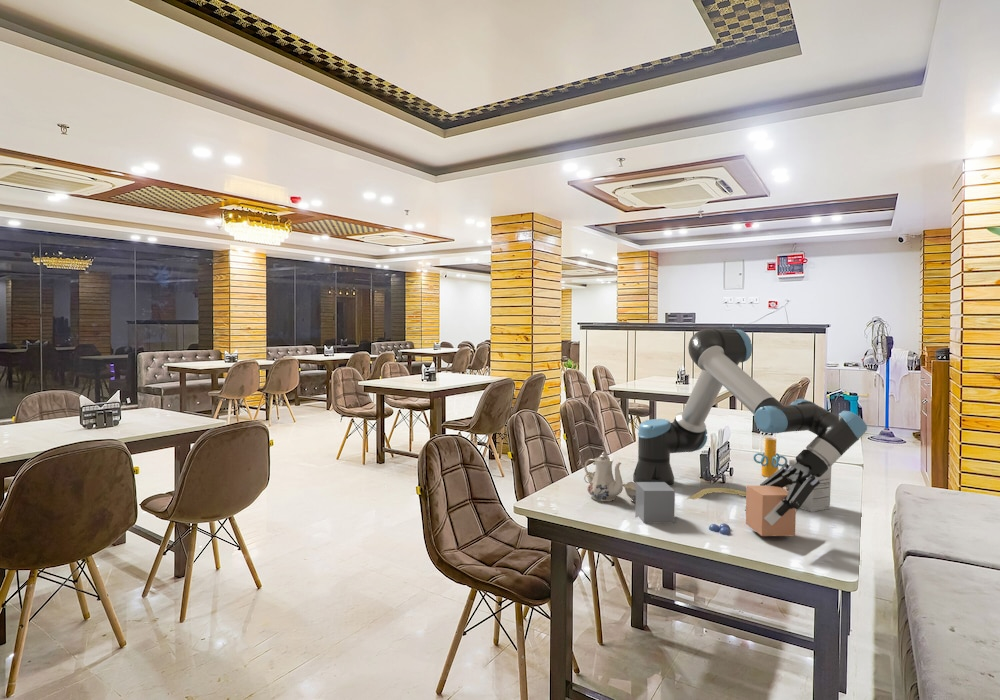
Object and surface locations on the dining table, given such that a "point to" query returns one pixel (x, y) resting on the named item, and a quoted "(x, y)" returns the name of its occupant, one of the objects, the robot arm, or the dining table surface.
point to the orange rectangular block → (761, 504)
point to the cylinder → (769, 458)
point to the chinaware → (607, 480)
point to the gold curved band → (716, 491)
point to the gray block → (655, 502)
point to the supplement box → (817, 492)
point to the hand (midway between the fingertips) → (758, 515)
